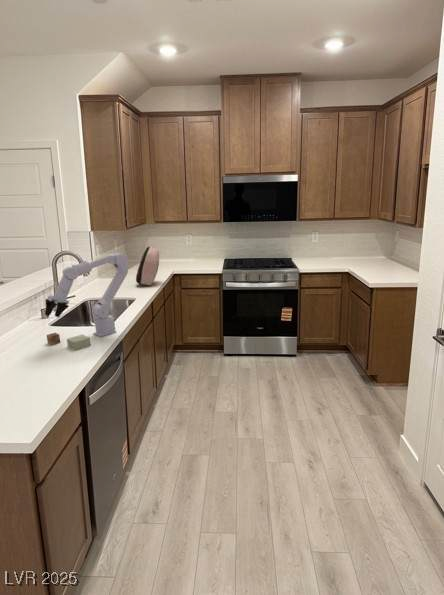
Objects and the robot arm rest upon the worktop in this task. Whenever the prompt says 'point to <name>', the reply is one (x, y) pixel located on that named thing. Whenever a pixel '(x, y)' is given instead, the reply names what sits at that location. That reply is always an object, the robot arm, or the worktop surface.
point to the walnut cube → (53, 338)
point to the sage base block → (78, 342)
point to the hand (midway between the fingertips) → (51, 315)
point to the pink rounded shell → (148, 266)
